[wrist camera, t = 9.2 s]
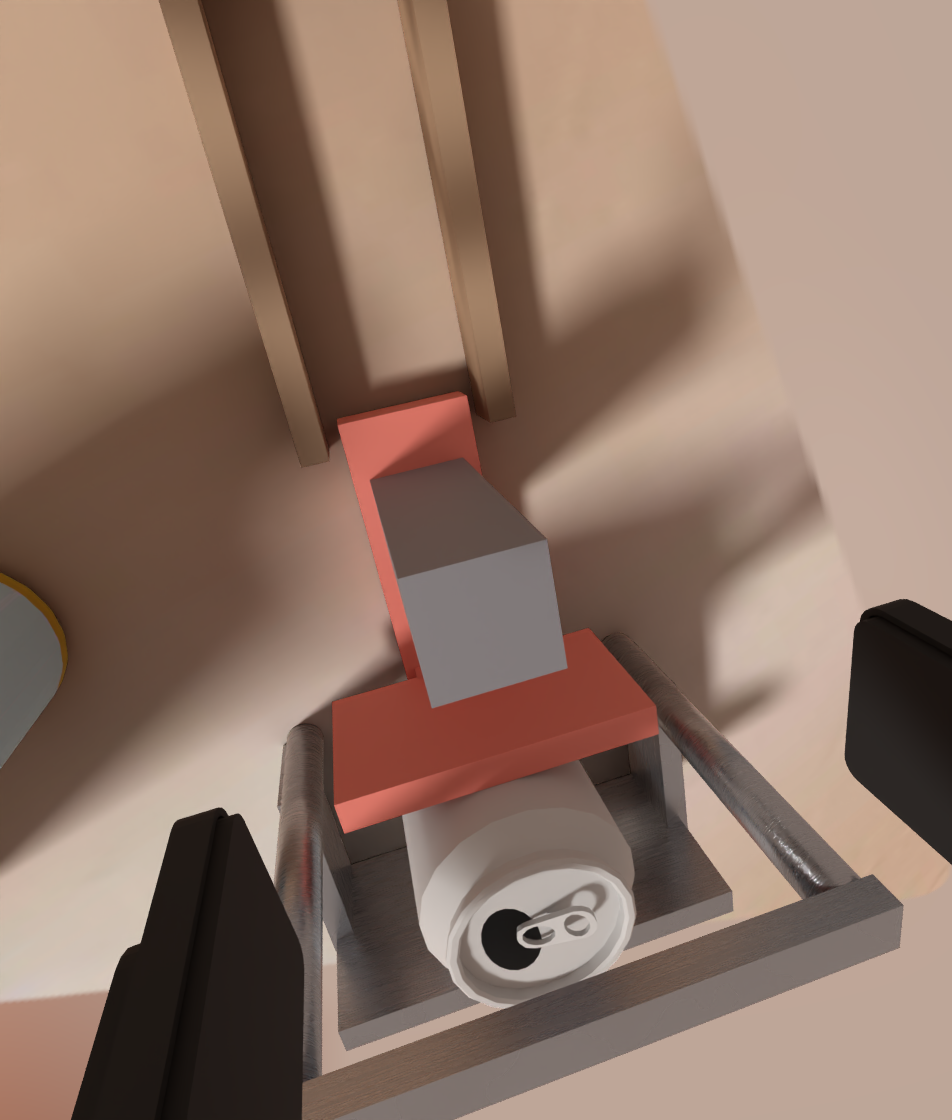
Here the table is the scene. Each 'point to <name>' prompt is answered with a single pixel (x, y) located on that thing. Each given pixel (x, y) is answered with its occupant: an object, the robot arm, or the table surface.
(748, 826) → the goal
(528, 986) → the can
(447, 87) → the brown wooden rectangular frame
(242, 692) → the table surface
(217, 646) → the table surface
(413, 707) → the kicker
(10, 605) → the bottle
